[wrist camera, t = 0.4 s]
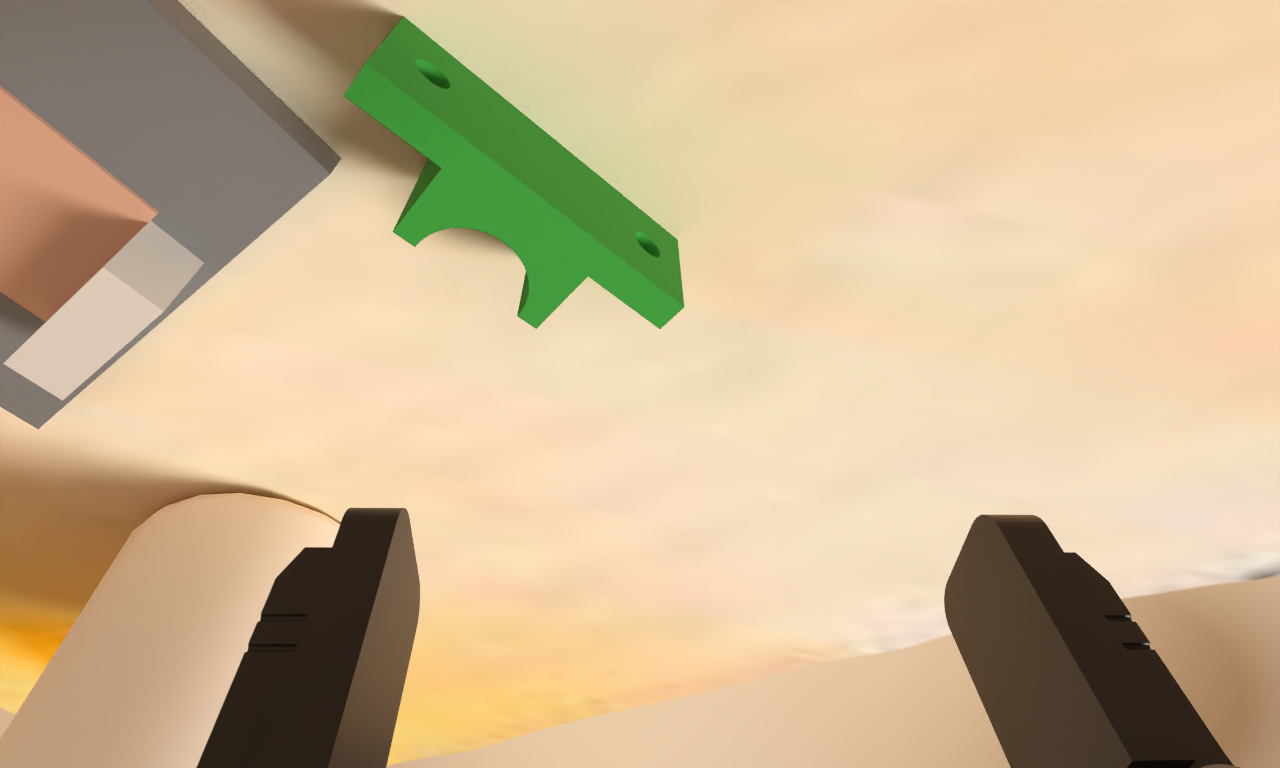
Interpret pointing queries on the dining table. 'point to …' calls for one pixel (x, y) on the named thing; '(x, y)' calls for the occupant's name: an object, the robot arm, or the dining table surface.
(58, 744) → the can
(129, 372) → the dining table surface
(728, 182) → the dining table surface
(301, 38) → the dining table surface
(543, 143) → the pipe clamp
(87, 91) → the end holder
